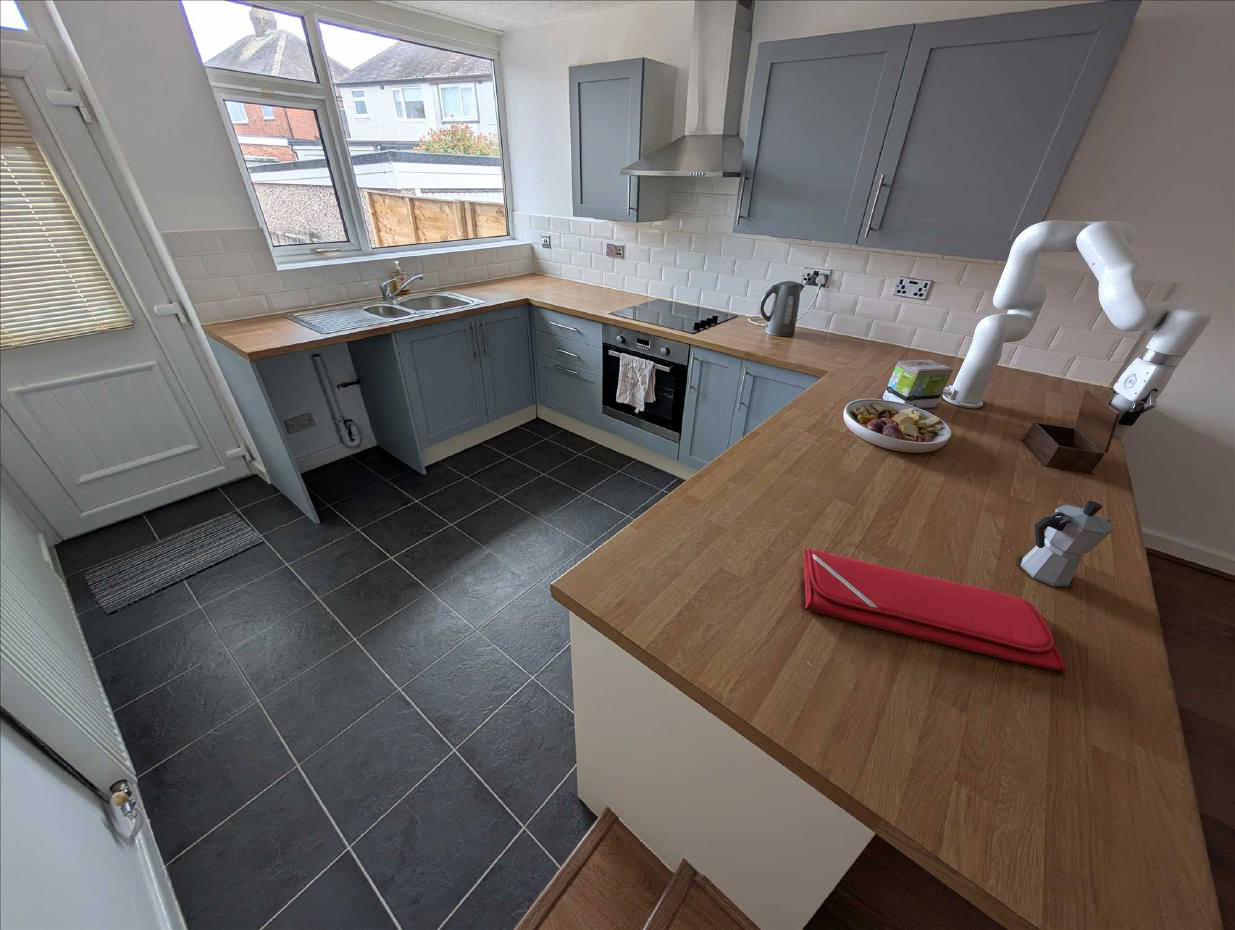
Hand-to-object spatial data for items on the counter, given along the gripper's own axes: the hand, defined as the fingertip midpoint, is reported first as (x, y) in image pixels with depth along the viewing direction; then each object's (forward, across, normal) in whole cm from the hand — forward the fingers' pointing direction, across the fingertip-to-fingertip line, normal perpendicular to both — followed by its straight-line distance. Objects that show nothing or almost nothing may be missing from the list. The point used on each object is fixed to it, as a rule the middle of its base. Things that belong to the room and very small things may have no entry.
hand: (1117, 418), depth 133 cm
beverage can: (+5, 0, 0) cm, 5 cm away
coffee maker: (+14, +60, -36) cm, 72 cm away
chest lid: (+2, 0, -5) cm, 5 cm away
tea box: (+15, -25, -44) cm, 53 cm away
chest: (+14, 0, -8) cm, 17 cm away
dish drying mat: (+14, +80, -64) cm, 104 cm away
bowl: (+15, +3, -55) cm, 57 cm away
